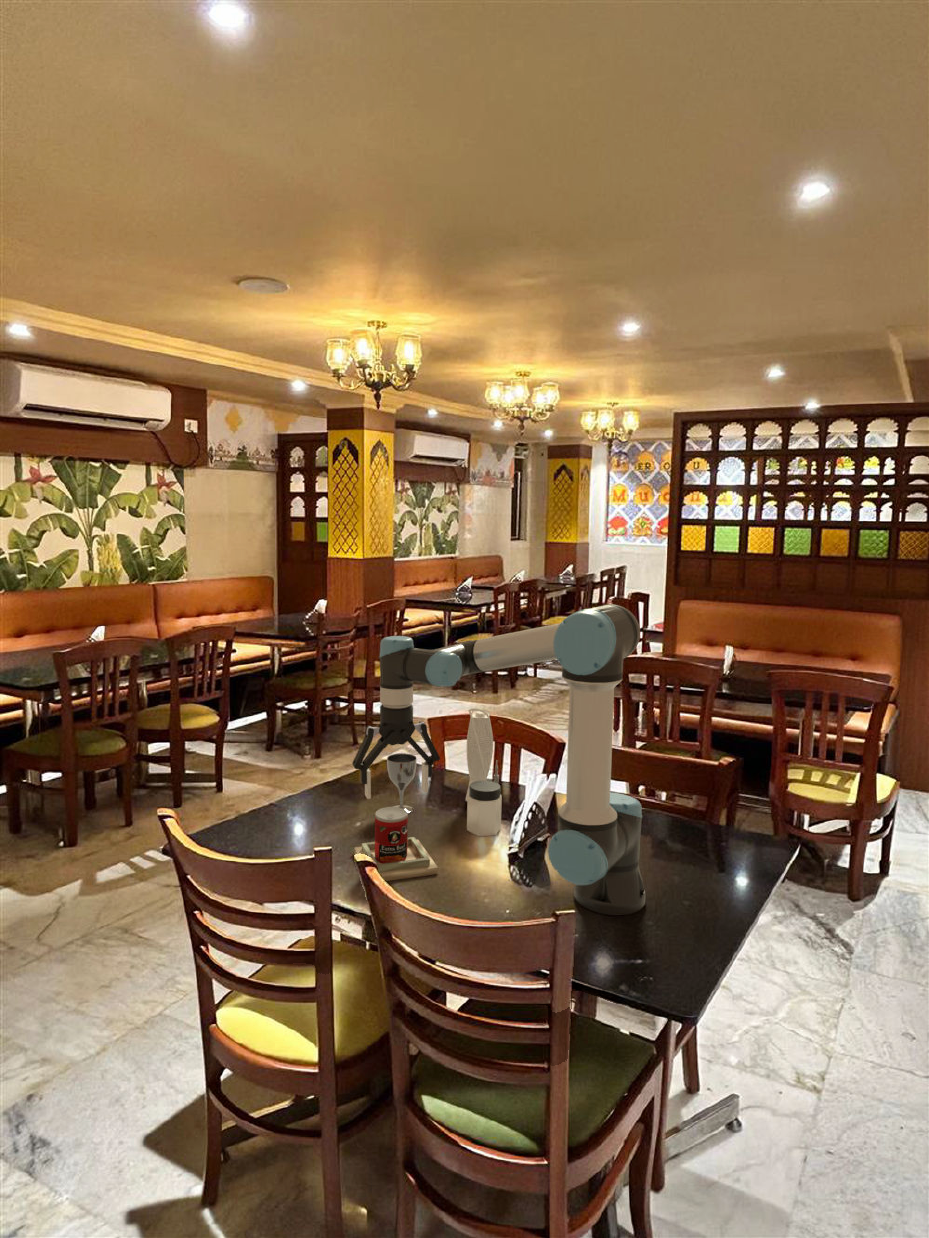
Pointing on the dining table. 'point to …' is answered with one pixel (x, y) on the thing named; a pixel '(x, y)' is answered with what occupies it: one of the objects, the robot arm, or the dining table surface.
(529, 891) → the dining table surface
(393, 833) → the canned food
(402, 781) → the wine glass
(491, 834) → the jar
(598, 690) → the robot arm
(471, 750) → the white vase
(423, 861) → the holder
